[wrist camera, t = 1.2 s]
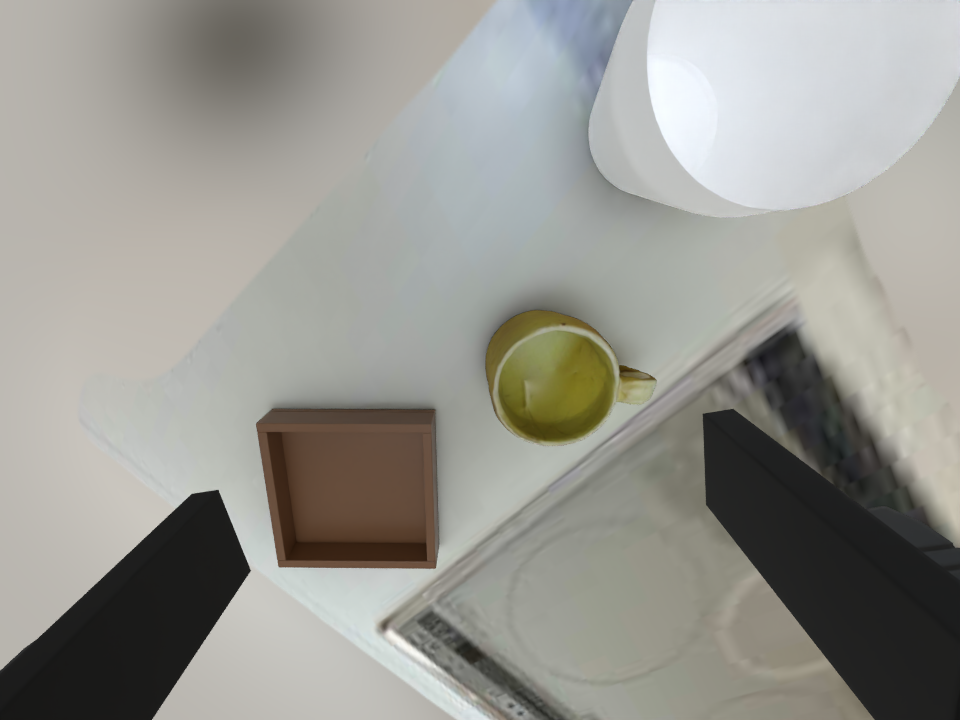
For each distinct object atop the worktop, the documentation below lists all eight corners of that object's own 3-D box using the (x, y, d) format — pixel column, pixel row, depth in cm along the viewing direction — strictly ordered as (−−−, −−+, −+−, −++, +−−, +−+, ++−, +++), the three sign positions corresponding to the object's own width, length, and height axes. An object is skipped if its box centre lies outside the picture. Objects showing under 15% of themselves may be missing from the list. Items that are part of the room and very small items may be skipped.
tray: (272, 408, 40) (255, 423, 37) (435, 409, 40) (431, 424, 37) (291, 544, 45) (278, 567, 42) (439, 545, 45) (435, 569, 42)
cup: (532, 162, 34) (575, 109, 18) (631, -14, 31) (795, -275, 15) (668, 249, 36) (820, 273, 20) (776, 92, 33) (1067, -37, 16)
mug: (453, 413, 38) (487, 438, 29) (484, 297, 39) (527, 283, 29) (578, 443, 42) (646, 474, 32) (606, 336, 42) (681, 335, 32)
